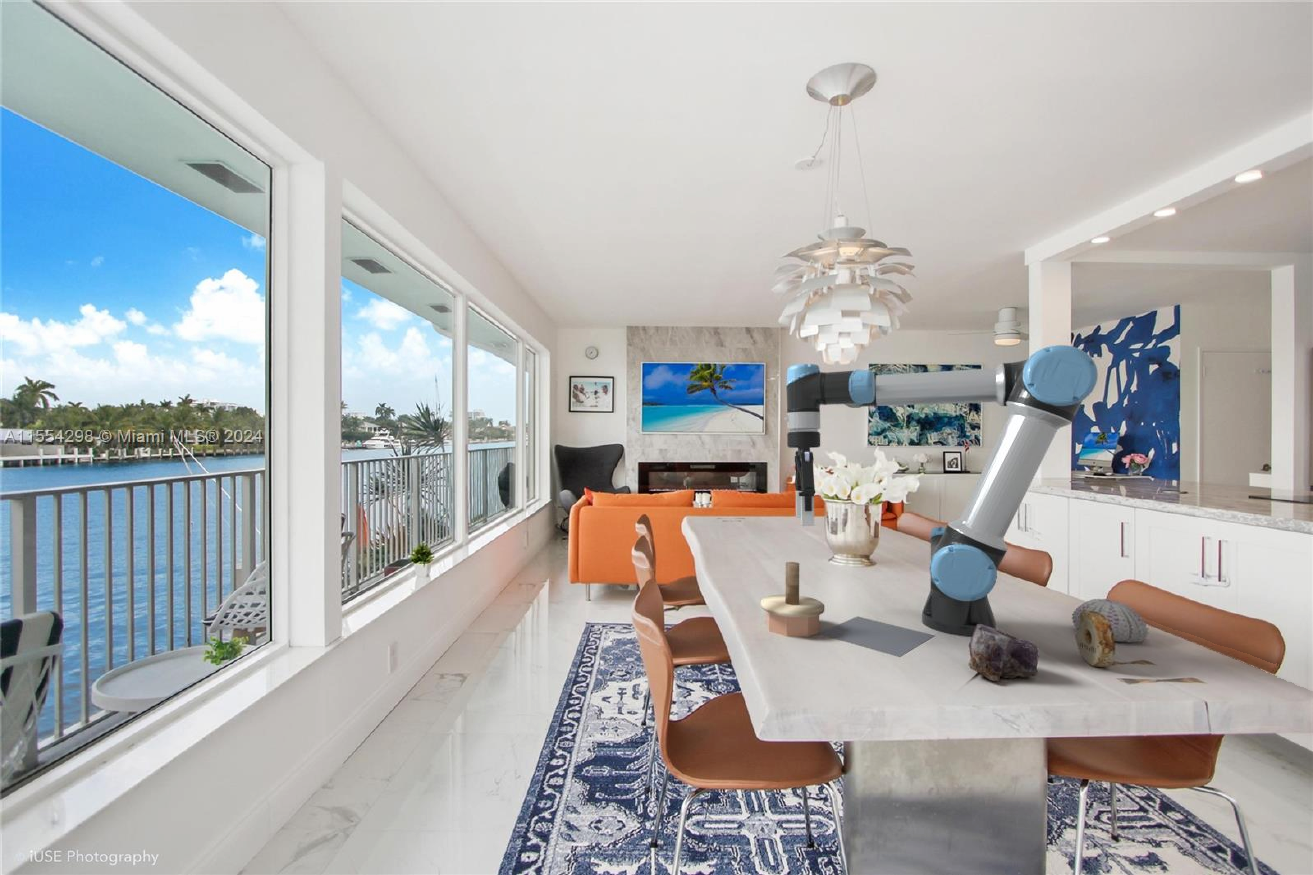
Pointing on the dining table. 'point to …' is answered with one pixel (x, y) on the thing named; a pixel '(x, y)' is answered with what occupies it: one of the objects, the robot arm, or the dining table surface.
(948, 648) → the dining table surface
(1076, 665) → the dining table surface
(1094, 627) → the stone disc
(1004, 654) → the rock
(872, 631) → the rubber mat
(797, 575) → the oak lid
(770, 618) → the terracotta bowl
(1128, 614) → the sea urchin shell
